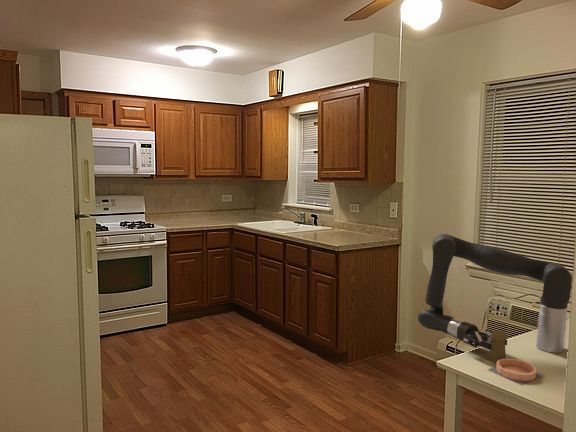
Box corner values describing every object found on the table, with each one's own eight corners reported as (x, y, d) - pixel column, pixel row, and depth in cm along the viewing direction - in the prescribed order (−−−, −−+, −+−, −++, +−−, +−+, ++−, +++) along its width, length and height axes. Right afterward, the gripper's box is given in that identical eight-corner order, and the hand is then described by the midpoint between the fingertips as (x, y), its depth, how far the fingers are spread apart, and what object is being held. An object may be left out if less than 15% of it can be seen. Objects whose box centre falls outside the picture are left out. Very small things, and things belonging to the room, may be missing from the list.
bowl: (510, 362, 172) (511, 355, 172) (543, 376, 162) (543, 369, 162) (488, 369, 166) (489, 363, 166) (521, 384, 156) (521, 377, 156)
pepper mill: (508, 364, 171) (510, 335, 170) (490, 363, 172) (492, 334, 171) (504, 357, 177) (506, 329, 176) (486, 356, 178) (488, 327, 177)
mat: (510, 362, 173) (510, 361, 173) (544, 377, 162) (545, 376, 162) (486, 370, 166) (487, 369, 166) (521, 386, 155) (521, 385, 155)
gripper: (450, 324, 183) (487, 338, 170) (475, 318, 191) (512, 331, 177) (449, 343, 184) (485, 359, 171) (473, 336, 192) (510, 351, 178)
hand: (499, 345), depth 174 cm, fingers open, 8 cm apart
